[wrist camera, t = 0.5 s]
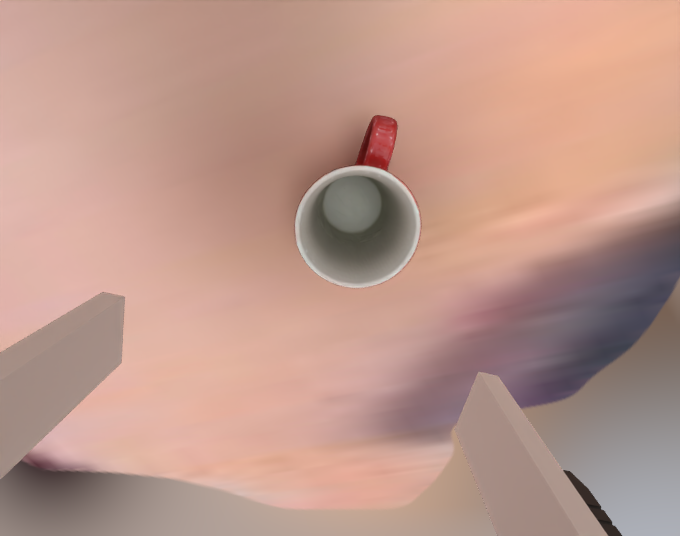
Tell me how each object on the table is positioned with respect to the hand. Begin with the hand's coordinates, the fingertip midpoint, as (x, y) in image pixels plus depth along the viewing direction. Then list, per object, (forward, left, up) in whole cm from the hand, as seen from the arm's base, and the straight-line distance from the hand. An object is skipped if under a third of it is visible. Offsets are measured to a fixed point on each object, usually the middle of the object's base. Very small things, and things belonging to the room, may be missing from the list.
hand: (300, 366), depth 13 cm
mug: (-4, +2, -27) cm, 28 cm away
